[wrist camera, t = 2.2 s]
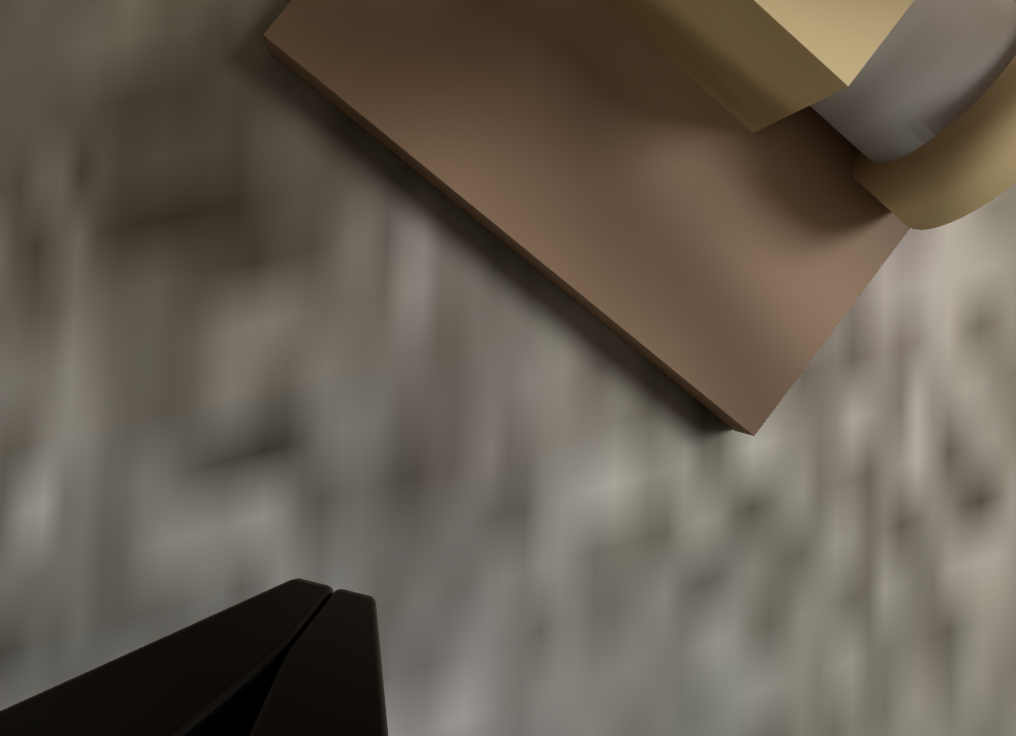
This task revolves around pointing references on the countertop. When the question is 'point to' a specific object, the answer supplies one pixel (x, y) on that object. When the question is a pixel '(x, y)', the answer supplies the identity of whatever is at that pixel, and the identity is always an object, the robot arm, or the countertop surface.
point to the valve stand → (686, 151)
